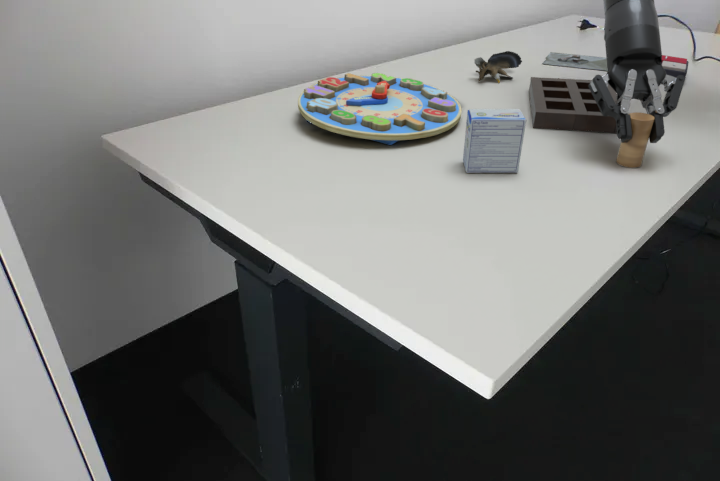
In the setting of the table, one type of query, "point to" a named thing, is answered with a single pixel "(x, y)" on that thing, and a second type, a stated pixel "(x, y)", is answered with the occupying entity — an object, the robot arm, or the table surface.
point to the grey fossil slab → (576, 61)
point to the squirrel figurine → (497, 64)
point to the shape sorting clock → (379, 107)
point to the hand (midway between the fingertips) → (641, 140)
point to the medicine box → (493, 140)
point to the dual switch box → (675, 65)
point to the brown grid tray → (567, 106)
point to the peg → (636, 141)
